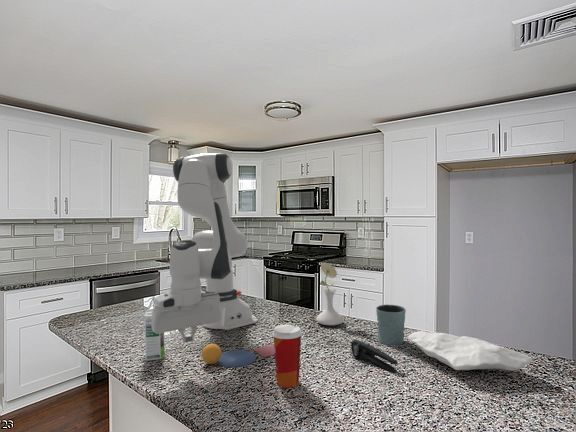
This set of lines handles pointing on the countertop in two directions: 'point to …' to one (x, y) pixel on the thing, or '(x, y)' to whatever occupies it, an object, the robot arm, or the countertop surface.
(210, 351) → the ball
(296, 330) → the coffee cup
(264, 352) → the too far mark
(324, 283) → the flower in vase
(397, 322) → the teal cup
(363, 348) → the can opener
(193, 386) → the countertop surface
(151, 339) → the syrup box
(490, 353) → the crumpled cloth
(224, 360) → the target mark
